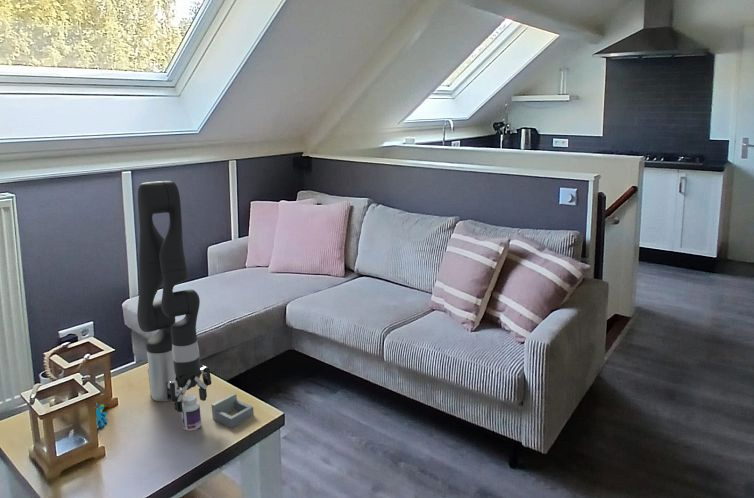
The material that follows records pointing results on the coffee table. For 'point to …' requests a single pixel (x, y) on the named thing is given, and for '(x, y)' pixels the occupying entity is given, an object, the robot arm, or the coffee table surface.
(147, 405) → the coffee table surface
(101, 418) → the blue lumpy piece
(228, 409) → the dock
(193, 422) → the pill bottle
